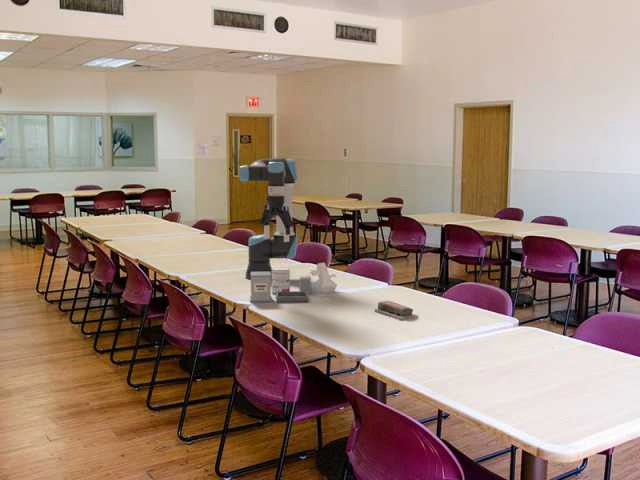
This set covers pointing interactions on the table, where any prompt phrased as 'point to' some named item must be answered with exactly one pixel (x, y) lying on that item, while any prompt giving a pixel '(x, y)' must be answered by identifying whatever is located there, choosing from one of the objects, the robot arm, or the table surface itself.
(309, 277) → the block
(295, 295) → the tray
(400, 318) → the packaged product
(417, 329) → the table surface
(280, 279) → the ink box
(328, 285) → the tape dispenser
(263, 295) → the unit
